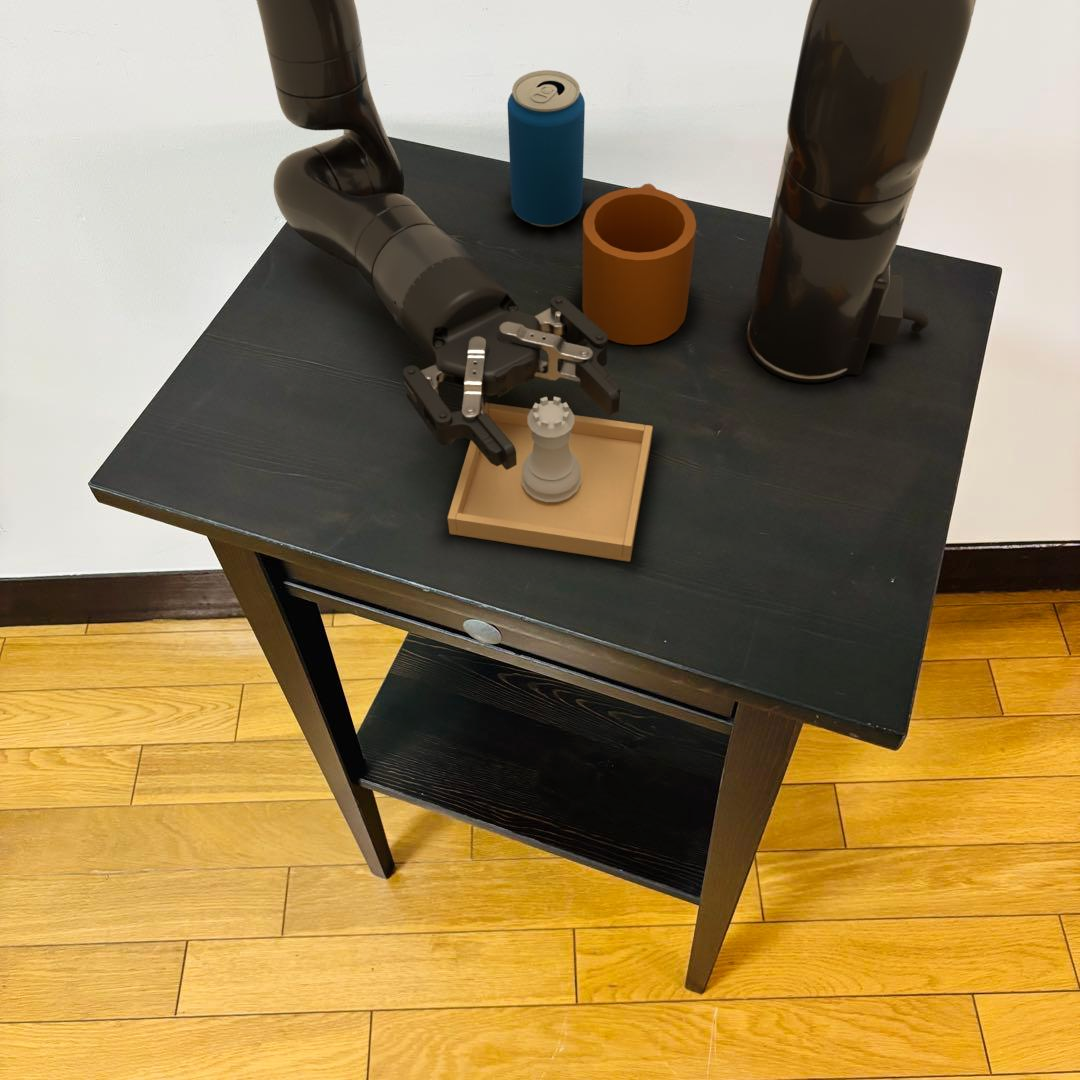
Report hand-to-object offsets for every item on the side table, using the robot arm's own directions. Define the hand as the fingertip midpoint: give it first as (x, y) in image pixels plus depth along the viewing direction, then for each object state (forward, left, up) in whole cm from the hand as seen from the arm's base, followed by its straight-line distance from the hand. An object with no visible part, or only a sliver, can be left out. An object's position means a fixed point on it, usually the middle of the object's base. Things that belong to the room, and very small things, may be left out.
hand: (564, 432), depth 72 cm
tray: (+1, -1, -8) cm, 8 cm away
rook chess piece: (+1, -1, -7) cm, 7 cm away
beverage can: (+8, -32, -8) cm, 34 cm away
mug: (-2, -22, -8) cm, 24 cm away
